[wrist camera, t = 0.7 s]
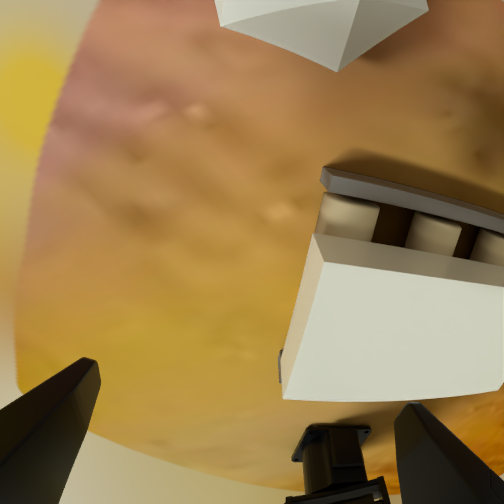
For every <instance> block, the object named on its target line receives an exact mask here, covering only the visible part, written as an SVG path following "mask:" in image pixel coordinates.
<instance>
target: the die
mask: <svg viewBox="0 0 504 504" xmlns="http://www.w3.org/2000/svg"><path fill="white" fill-rule="evenodd" d="M215 4H216V9H217V13H218V17H219V22H220V26H221V27H224V28H227V29H230V30H233V31H237V32H240V33H243V34H246V35H248V36H251V37H254V38H257V39H260V40H263V41H265V42H268V43H271V44H273V45H276V46H278V47H281V48H283V49H286V50H288V51H291V52H293V53H296V54H298V55H300V56H303V57H305V58H307V59H309V60H312V61H314V62H316V63H318V64H320V65H322V66H325V67H327V68H329V69H331V70H333V71H335V72H338V71H340V70H341V69H342V68H344V67H345V66H347V65H348V64H349V63H351V62H352V61H354V60H355V59H356V58H358V57H359V56H361V55H362V54H363V53H365V52H366V51H368V50H369V49H371V48H372V47H373V46H375V45H376V44H378V43H379V42H381V41H382V40H384V39H385V38H387V37H388V36H390V35H391V34H393V33H394V32H396V31H397V30H399V29H400V28H402V27H403V26H405V25H407V24H408V23H410V22H411V21H413V20H414V19H416V18H418V17H419V16H421V15H423V14H424V13H426V12H427V11H429V9H428V5H427V1H426V0H215Z"/></svg>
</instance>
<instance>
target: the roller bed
mask: <svg viewBox="0 0 504 504" xmlns="http://www.w3.org/2000/svg"><path fill="white" fill-rule="evenodd" d="M320 182H321V183H322V184H323V185H324V187H325V188H326V189H327V190H328V191H329V192H324V193H323V197H322V202H321V206H320V211H319V215H318V220H317V224H316V229H315V233H317V234H323V235H329V236H336V237H342V238H348V239H354V240H360V241H366V242H371V239H372V235H373V232H374V228H375V225H376V221H377V217H378V214H379V210H380V207H379V206H378V205H376V204H375V203H373V202H371V201H369V200H372V201H377V202H382V203H386V204H391V205H396V206H400V207H404V208H409V209H413V210H415V212H414V216H413V219H412V223H411V226H410V229H409V233H408V236H407V239H406V242H405V245H404V248H407V249H412V250H418V251H424V252H429V253H434V254H440V255H445V256H451V257H452V255H453V253H454V250H455V247H456V244H457V241H458V238H459V235H460V232H461V229H462V228H461V227H460V226H459V225H458V224H457V223H455V222H453V221H452V220H450V219H454V220H457V221H461V222H465V223H469V224H472V225H476V226H480V230H479V233H478V236H477V239H476V242H475V245H474V248H473V251H472V253H471V256H470V259H469V260H472V261H477V262H482V263H487V264H492V265H497V266H502V267H504V234H503V233H504V215H503V214H500V213H497V212H495V211H492V210H489V209H486V208H482V207H479V206H476V205H473V204H470V203H467V202H463V201H460V200H457V199H454V198H450V197H447V196H443V195H440V194H436V193H433V192H429V191H425V190H422V189H418V188H414V187H410V186H407V185H403V184H399V183H395V182H391V181H386V180H382V179H378V178H374V177H369V176H365V175H360V174H356V173H351V172H346V171H342V170H337V169H332V168H327V167H323V168H322V174H321V179H320ZM367 199H368V200H367ZM445 217H446V218H445ZM447 218H450V219H447ZM282 353H283V351H280V353H279V357H278V369H279V383H282V378H281V362H280V360H281V356H282Z"/></svg>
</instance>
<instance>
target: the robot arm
mask: <svg viewBox="0 0 504 504" xmlns="http://www.w3.org/2000/svg"><path fill="white" fill-rule="evenodd" d="M100 386H101V378H100V373H99V367H98V363H97V361H95V360H93V359H90V358H86V357H83V358H81V359H79V360H77V361H76V362H74V363H73V364H71V365H70V366H68V367H66V368H65V369H63V370H62V371H60V372H59V373H57V374H55V375H54V376H52V377H51V378H49V379H48V380H46V381H44V382H43V383H41V384H40V385H38V386H37V387H35V388H33V389H32V390H30V391H29V392H27V393H26V394H24V395H23V396H21V397H19V398H18V399H16V400H15V401H13V402H11V403H10V404H8V405H7V406H5V407H4V408H2V409H1V410H0V504H59V501H60V498H61V496H62V493H63V490H64V488H65V485H66V482H67V479H68V477H69V474H70V472H71V469H72V467H73V464H74V462H75V459H76V457H77V454H78V452H79V449H80V447H81V445H82V442H83V440H84V437H85V435H86V432H87V430H88V426H89V423H90V420H91V416H92V413H93V409H94V406H95V403H96V399H97V396H98V393H99V390H100ZM394 431H395V445H396V461H397V471H398V477H399V484H400V491H401V498H402V504H504V481H503V480H502V479H501V478H500V477H499V476H498V475H497V474H496V473H495V472H494V471H492V470H491V469H489V467H488V466H487V465H486V464H485V463H484V462H483V461H482V460H481V459H480V458H479V457H478V456H477V455H475V454H474V453H473V452H472V451H471V450H470V449H469V448H468V447H467V446H466V445H465V444H464V443H463V442H462V441H461V440H460V439H458V438H457V437H456V436H455V435H454V434H453V433H452V432H451V431H450V430H449V429H448V428H447V427H446V426H445V425H444V424H442V423H441V422H440V421H439V420H438V419H437V418H436V417H435V416H434V415H433V414H432V413H431V412H430V411H429V410H428V409H426V408H425V407H424V406H423V405H422V404H421V403H419V402H409V403H407V404H406V405H405V406H404V408H403V409H402V410H401V412H400V413H399V415H398V416H397V417H396V419H395V422H394ZM370 433H371V427H370V426H352V427H315V426H312V427H308V428H306V430H305V432H304V434H303V436H302V438H301V440H300V442H299V443H298V445H297V447H296V449H295V451H294V453H293V455H292V461H293V462H303V474H304V487H305V495H302V496H295V497H292V496H289V497H286V502H285V503H284V504H391V503H390V499H389V495H388V492H387V488H386V484H385V481H384V477H383V476H380V477H377V479H373V480H370V481H368V479H367V474H366V470H365V465H364V458H363V454H362V449H361V445H362V444H363V442H364V441H365V440H366V438H367V437H368V435H369V434H370ZM378 498H379V500H378V501H374V499H378Z"/></svg>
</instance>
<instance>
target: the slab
mask: <svg viewBox="0 0 504 504" xmlns="http://www.w3.org/2000/svg"><path fill="white" fill-rule="evenodd" d="M280 362H281V378H282V395H283V399H291V400H309V401H338V402H374V401H403V400H420V399H432V398H443V397H453V396H462V395H470V394H477V393H484V392H490V391H496V390H498V389H499V388H500V387H501V385H502V384H503V382H504V267H502V266H497V265H492V264H487V263H482V262H477V261H472V260H466V259H461V258H456V257H451V256H445V255H440V254H434V253H429V252H424V251H418V250H412V249H407V248H401V247H395V246H390V245H384V244H378V243H372V242H366V241H360V240H354V239H348V238H342V237H336V236H329V235H323V234H317V233H312V238H311V242H310V246H309V251H308V255H307V259H306V263H305V268H304V272H303V276H302V280H301V284H300V288H299V292H298V296H297V300H296V304H295V308H294V312H293V315H292V319H291V323H290V327H289V331H288V334H287V338H286V342H285V345H284V349H283V353H282V356H281V360H280Z"/></svg>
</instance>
